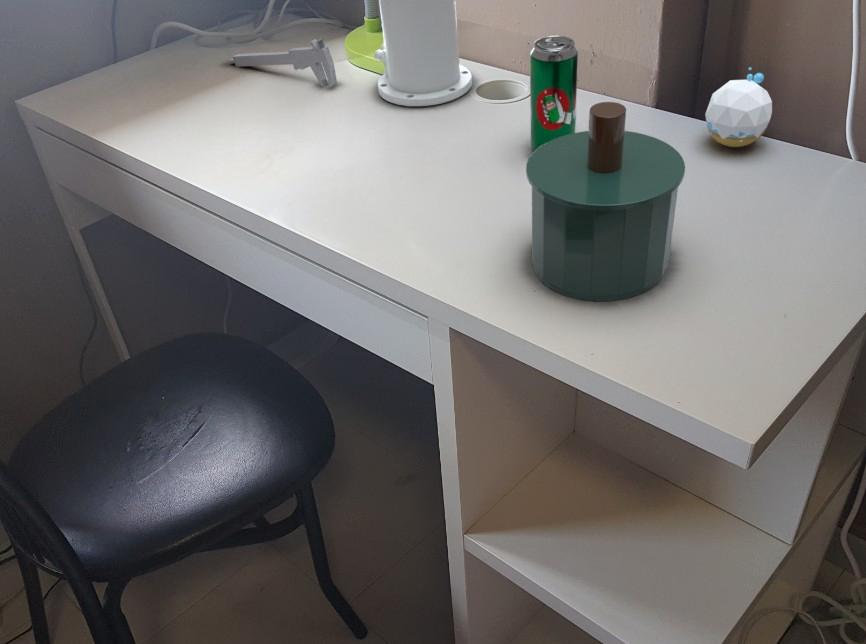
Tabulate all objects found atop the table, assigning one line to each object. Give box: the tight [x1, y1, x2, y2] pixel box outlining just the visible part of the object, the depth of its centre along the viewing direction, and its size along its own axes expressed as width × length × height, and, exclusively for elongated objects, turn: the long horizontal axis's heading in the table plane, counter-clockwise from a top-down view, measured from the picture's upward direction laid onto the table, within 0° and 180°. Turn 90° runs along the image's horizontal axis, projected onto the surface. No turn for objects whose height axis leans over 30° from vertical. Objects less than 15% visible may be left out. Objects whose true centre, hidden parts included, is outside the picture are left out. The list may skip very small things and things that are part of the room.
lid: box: [525, 101, 686, 210], centre depth 72 cm, size 14×14×6 cm
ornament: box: [704, 66, 773, 148], centre depth 92 cm, size 7×7×8 cm
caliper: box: [228, 37, 338, 88], centre depth 117 cm, size 20×1×6 cm, turn 55°
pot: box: [531, 186, 679, 302], centre depth 77 cm, size 13×13×10 cm
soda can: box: [529, 35, 579, 152], centre depth 93 cm, size 5×5×12 cm
